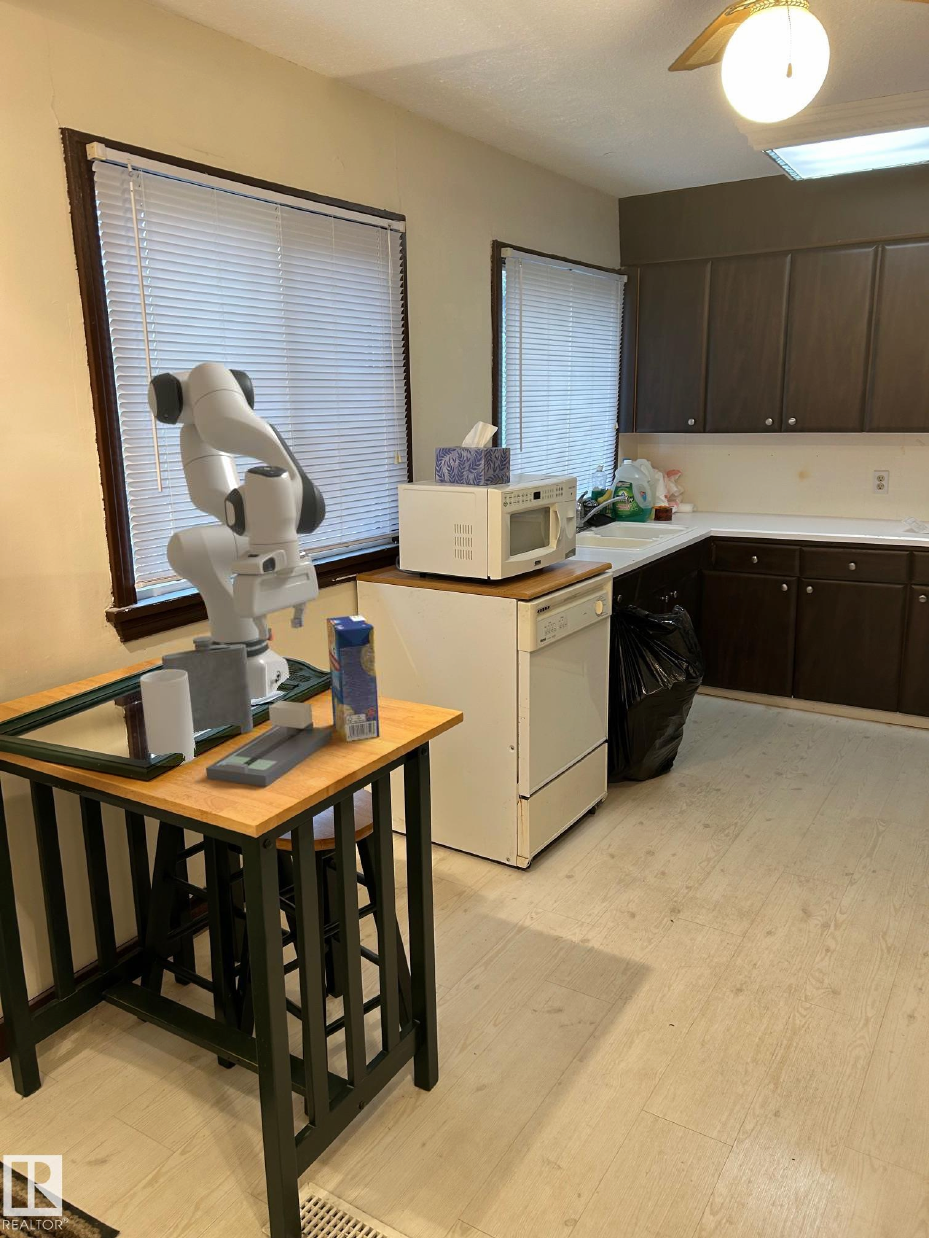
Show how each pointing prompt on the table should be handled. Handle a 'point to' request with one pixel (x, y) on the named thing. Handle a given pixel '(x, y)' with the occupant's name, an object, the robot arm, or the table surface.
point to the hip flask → (215, 684)
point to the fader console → (269, 755)
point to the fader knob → (290, 715)
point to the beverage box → (353, 677)
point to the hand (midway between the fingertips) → (282, 633)
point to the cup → (168, 713)
